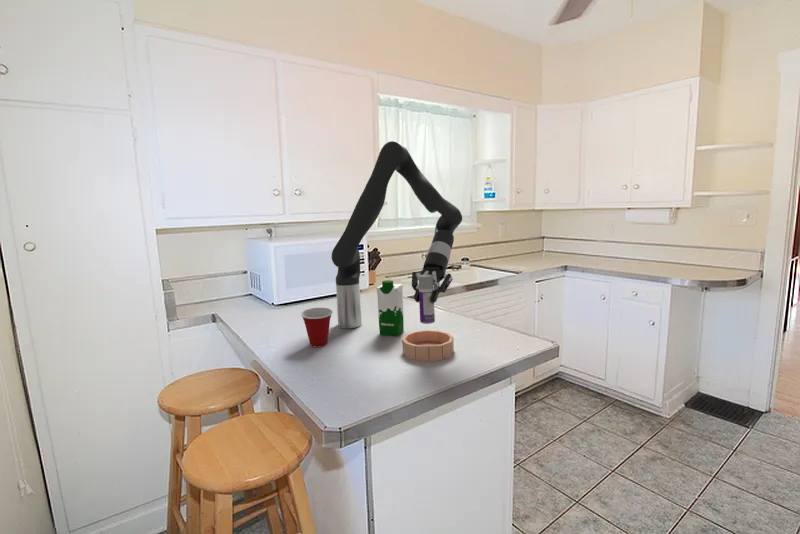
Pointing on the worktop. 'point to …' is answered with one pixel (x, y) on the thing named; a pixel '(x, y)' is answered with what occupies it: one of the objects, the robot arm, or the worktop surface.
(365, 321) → the worktop surface
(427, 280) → the container
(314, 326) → the plastic cup
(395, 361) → the worktop surface
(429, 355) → the bowl
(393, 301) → the milk carton
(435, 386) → the worktop surface
